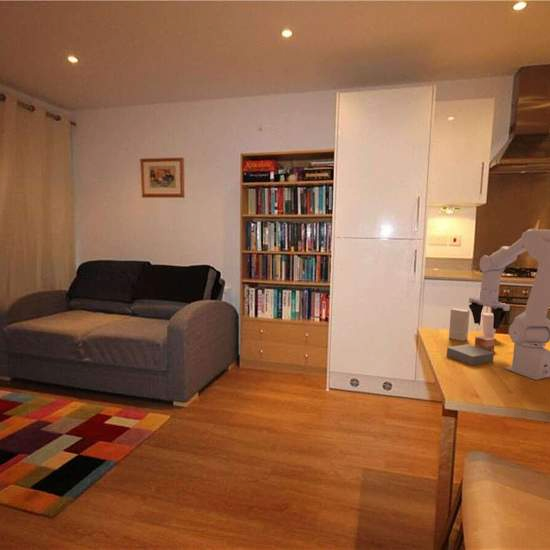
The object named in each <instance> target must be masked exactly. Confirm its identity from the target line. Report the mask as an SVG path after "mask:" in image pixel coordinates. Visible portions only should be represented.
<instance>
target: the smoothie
mask: <svg viewBox="0 0 550 550" xmlns="http://www.w3.org/2000/svg"><path fill="white" fill-rule="evenodd" d="M492 308H493V307H489V312H481V318H482V336H487V337H490V338H494V339H495V334H496V331H497V329H493V322H494V317H493V312H492Z"/></svg>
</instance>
